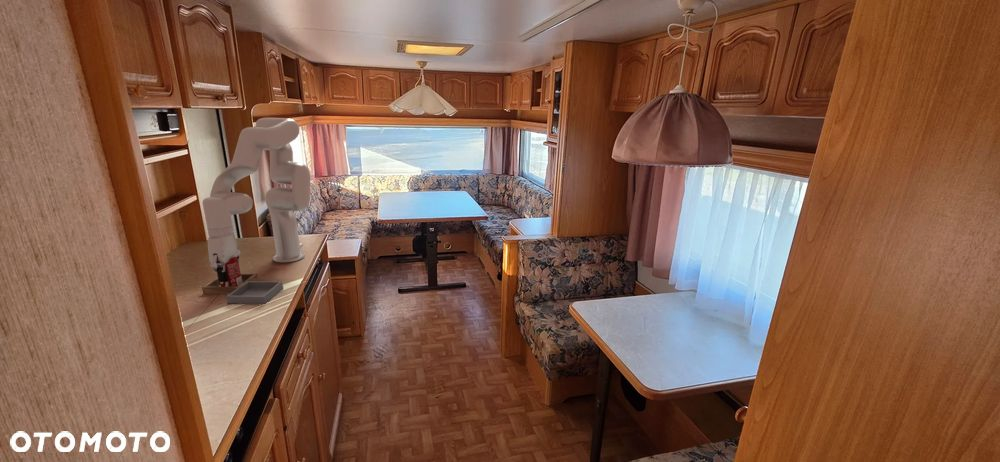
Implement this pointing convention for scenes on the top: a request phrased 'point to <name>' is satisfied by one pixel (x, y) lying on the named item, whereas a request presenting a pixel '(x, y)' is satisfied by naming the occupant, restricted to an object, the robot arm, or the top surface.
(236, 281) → the soda can
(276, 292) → the grey tray
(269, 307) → the top surface
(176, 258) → the top surface
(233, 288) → the wooden tray
